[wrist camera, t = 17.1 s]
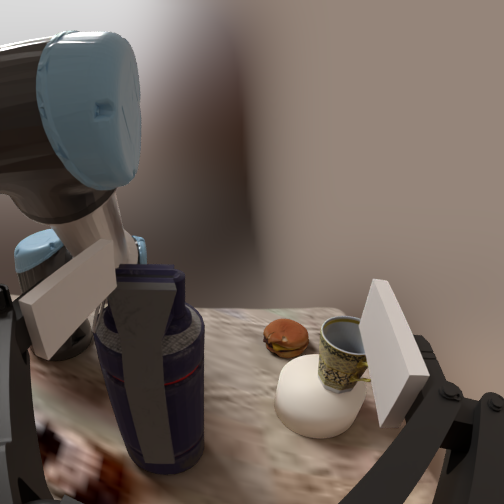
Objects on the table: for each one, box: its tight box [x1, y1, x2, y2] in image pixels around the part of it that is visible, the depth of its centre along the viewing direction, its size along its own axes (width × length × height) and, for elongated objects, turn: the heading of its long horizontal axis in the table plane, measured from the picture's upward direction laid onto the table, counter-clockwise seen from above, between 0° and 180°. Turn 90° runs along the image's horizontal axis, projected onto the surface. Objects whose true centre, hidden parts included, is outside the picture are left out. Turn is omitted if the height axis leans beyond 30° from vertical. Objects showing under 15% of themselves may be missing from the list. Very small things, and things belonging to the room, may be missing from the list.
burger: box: [263, 319, 309, 358], centre depth 67 cm, size 10×9×5 cm
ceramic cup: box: [318, 316, 371, 394], centre depth 47 cm, size 13×10×10 cm
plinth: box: [274, 354, 367, 439], centre depth 51 cm, size 15×15×6 cm
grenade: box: [93, 264, 205, 475], centre depth 35 cm, size 14×12×30 cm
